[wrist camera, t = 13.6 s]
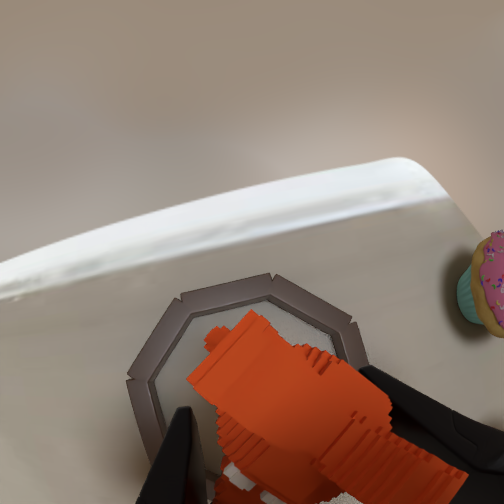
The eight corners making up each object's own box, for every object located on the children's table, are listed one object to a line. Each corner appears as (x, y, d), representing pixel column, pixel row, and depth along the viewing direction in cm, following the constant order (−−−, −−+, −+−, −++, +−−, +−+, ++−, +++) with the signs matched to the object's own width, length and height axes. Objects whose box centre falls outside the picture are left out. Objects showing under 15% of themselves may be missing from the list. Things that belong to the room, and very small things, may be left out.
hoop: (294, 523, 15) (299, 533, 13) (102, 425, 16) (93, 429, 15) (394, 348, 20) (405, 346, 18) (214, 246, 21) (214, 237, 20)
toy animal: (167, 399, 14) (19, 439, 3) (235, 326, 16) (221, 220, 5) (281, 489, 13) (343, 640, 2) (347, 417, 14) (516, 464, 3)
